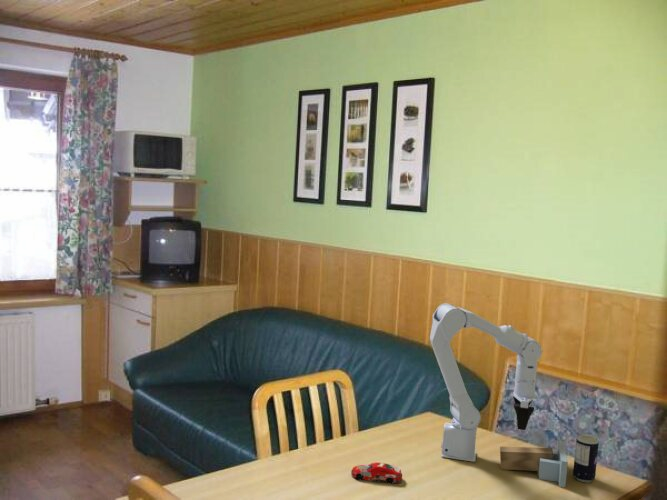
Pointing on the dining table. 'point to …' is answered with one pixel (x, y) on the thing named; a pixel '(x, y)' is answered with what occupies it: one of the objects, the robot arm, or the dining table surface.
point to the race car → (377, 473)
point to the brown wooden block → (523, 457)
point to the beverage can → (585, 457)
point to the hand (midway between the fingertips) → (521, 425)
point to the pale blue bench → (555, 466)
